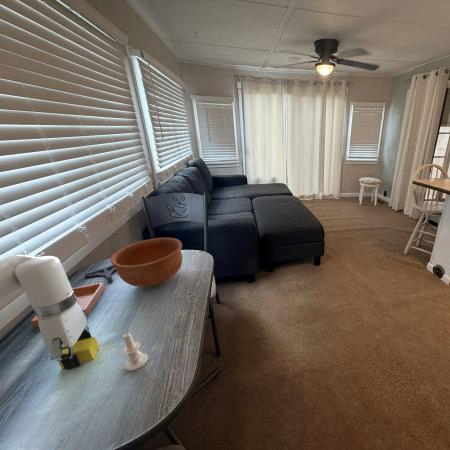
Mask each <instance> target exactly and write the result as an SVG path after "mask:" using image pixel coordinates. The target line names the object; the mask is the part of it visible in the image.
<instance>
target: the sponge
mask: <svg viewBox="0 0 450 450" xmlns="http://www.w3.org/2000/svg"><path fill="white" fill-rule="evenodd" d="M91 337H92V338H88V339H84V340H80V341H77V342H76V343H75V344H74V345H73V349H74V354H77V357H78V359H79V361H80V363H81V364H83V363H86V362H90V361H93V360H94V359H95V357H96V355H97V353H98V351H99V349H100V345H99V342H98V341H97V338H96V336H91ZM64 346H66V345H64V344H63V345H62V347H64ZM67 346H68V345H67ZM63 354H68V349H64V350H63ZM57 362H58V364H59V367H61V369H64V367H63V365H62V363H61V361H57Z"/></svg>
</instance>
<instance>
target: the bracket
mask: <svg viewBox="0 0 450 450" xmlns="http://www.w3.org/2000/svg"><path fill="white" fill-rule="evenodd" d="M110 269H111V270H110ZM115 270H116V271H117V269H116V267H115V266H114V265H112V264H111V265H110V266H105V267H103V268H100V269H99V268H98V269H97V270H94V271H89V272H87V273H84V274H83V276H84V278H90V277H98V276H99V277H100V276H102V277H104V278H106V279H107V282H108V283H109V284H110V283H113V282H114V281H113V278H112V276H111V275H112V273H114V272H115ZM101 272H102V273H101Z"/></svg>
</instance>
